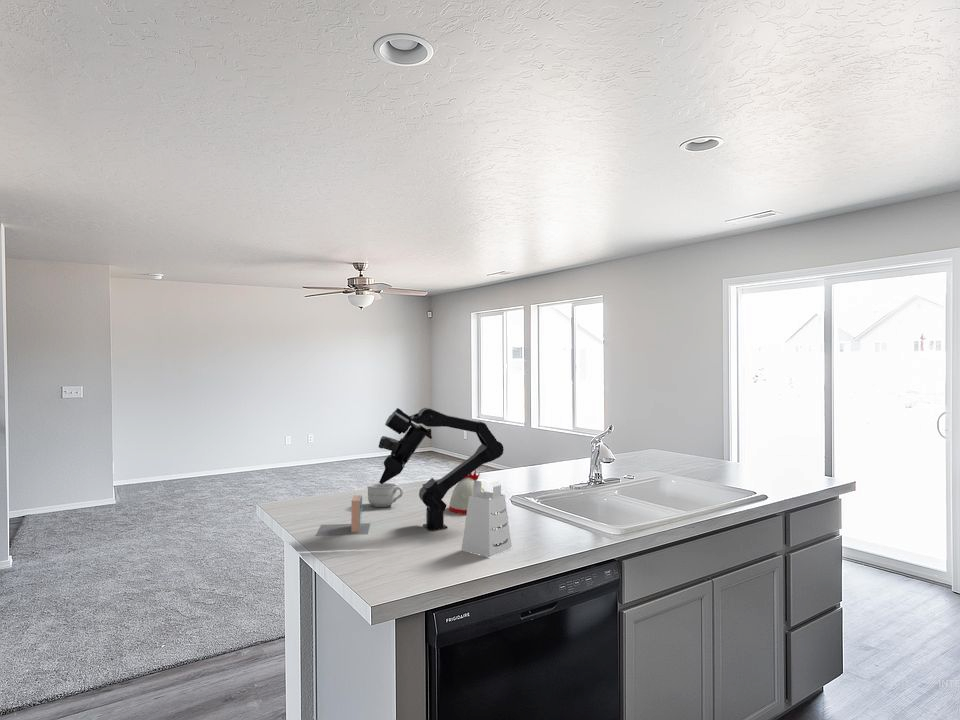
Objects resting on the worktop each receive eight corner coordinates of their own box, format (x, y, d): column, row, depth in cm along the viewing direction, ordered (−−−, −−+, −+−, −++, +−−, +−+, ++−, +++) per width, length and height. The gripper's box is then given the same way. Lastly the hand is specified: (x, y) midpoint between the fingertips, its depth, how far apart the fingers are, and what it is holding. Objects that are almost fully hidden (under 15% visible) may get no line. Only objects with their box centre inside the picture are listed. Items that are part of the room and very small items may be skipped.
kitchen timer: (486, 514, 204) (486, 472, 204) (448, 514, 204) (448, 472, 204) (486, 505, 218) (487, 465, 218) (450, 504, 218) (451, 465, 218)
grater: (484, 541, 173) (484, 475, 173) (511, 548, 166) (512, 480, 166) (461, 550, 165) (461, 481, 165) (489, 558, 158) (490, 486, 158)
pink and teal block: (361, 525, 188) (362, 494, 188) (359, 532, 180) (360, 500, 180) (353, 525, 187) (353, 495, 187) (351, 532, 179) (351, 500, 179)
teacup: (361, 507, 213) (361, 485, 213) (379, 500, 223) (379, 480, 223) (391, 511, 207) (391, 489, 207) (408, 505, 216) (409, 484, 216)
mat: (370, 524, 190) (370, 523, 190) (367, 535, 178) (367, 534, 178) (321, 526, 188) (321, 524, 188) (315, 537, 176) (315, 535, 176)
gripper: (395, 422, 195) (369, 459, 196) (385, 431, 176) (356, 472, 177) (421, 441, 195) (395, 478, 196) (414, 452, 176) (385, 493, 177)
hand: (383, 479), depth 186 cm, fingers open, 9 cm apart
